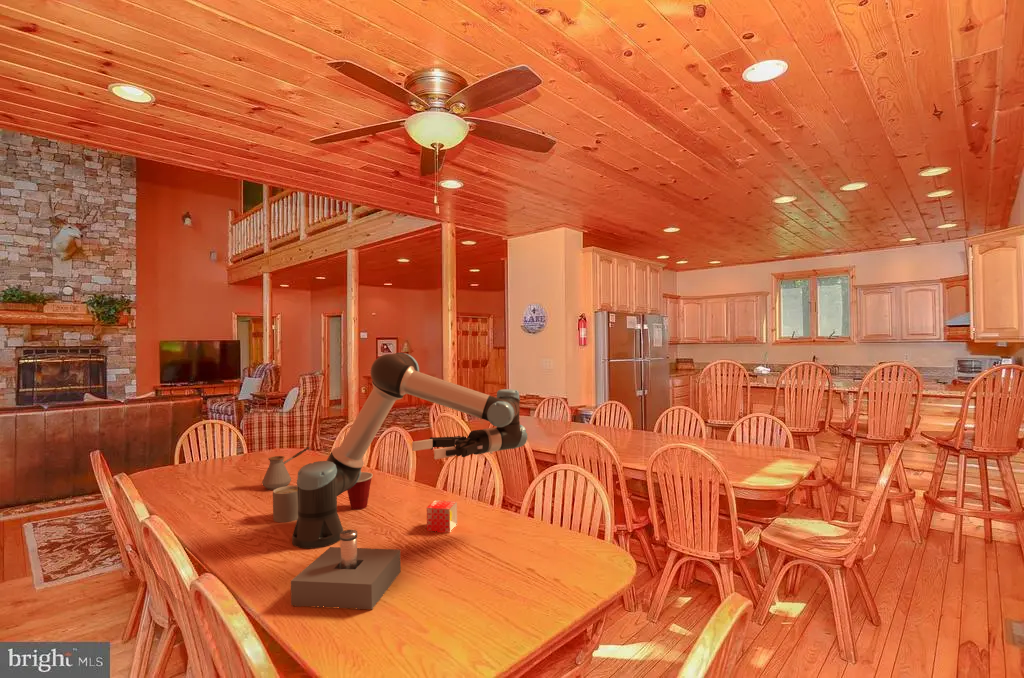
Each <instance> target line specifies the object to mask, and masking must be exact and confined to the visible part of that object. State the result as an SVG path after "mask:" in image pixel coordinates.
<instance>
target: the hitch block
mask: <svg viewBox="0 0 1024 678" xmlns="http://www.w3.org/2000/svg"><path fill="white" fill-rule="evenodd" d="M401 570H402V569H401V549H394V548H392V549H391V548H368V547H367V548H363V547H357V568H356V569H341V546H340V547H338V546H337V547H336V546H334V547H333V546H329V547H328V548H327V549H326V550H325V551H323V552H322V553H321V554H320V555H319V556H318V557H317V558H316V559H314V560H313V561H312V562H311V563H310V564H308V565H307V566H306V567H305V568H304V569H303V570H302V571H300V572H299V573H298V574H297V575H296V576H294V578H292V579H291V580H290V606H291V605H296V606H295V607H301V606H315V607H314V608H321V607H323V606H324V607H339V608H338V609H340V608H357V609H356V610H360V609H372V610H373V609H374V608H375V607H376V605H377V604H378V603H379V601H380V600H381V599H380V598H382V597H383V596H384V595H385V593H386V592H387V591H388V589H389V588H390V587H391V585H392V584H393V582H394V581H395V580H396V578H397V577H398V576H399V575H400V573H401ZM383 594H384V595H383ZM377 602H378V603H377ZM376 603H377V604H376ZM317 606H319V607H317ZM374 606H375V607H374ZM373 607H374V608H373Z"/></svg>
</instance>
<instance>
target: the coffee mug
mask: <svg viewBox="0 0 1024 678" xmlns="http://www.w3.org/2000/svg"><path fill="white" fill-rule="evenodd" d="M272 519H273V522H276V523H289V522H294V521H295V522H296V521H297V519H298V492H297V485H287V486H285V487H280V488H277V489H275V490H272Z"/></svg>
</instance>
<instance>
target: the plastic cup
mask: <svg viewBox="0 0 1024 678" xmlns="http://www.w3.org/2000/svg"><path fill="white" fill-rule="evenodd" d="M373 475H374V474H373V473H372V472H369V471H361V474H360V477H359V479H358V481H357V482H356V484H355V485H354V486H353V487H352V488H350V489H349V490H347V491H346V492H347V496H348V501H349V505H350V509H352V510H356V511H359V510H362V509H366V508H367V507H368V502H369V496H370V491H371V490H370V489H371V484H372V478H373Z"/></svg>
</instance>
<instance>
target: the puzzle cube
mask: <svg viewBox="0 0 1024 678" xmlns="http://www.w3.org/2000/svg"><path fill="white" fill-rule="evenodd" d="M456 524H457V525H458V501H456V500H440V499H439V500H434V501H432V502H431V503H430V504H429V505H428V506H426V532H427V531H435V532H434V533H443V532H450V533H451V532H452V531H453V530H454V529H455V528H456V527H457V525H456ZM454 527H455V528H454ZM453 528H454V529H453ZM452 529H453V530H452ZM451 530H452V531H451ZM436 531H437V532H436Z"/></svg>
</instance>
